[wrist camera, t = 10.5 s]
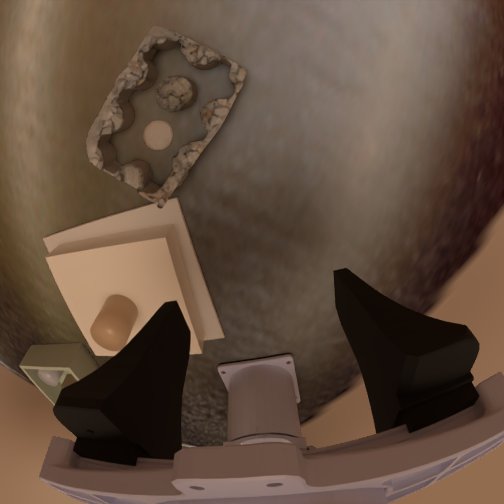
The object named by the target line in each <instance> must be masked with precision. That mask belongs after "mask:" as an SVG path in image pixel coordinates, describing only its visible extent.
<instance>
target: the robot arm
mask: <svg viewBox="0 0 504 504" xmlns="http://www.w3.org/2000/svg"><path fill="white" fill-rule="evenodd" d="M333 272H334V286H335V303H336V309H337V312H338V316H339V319H340V322H341V325H342V327H343V330H344V332H345V334H346V336H347V339H348V341H349V343H350V345H351V348H352V350H353V352H354V354H355V357H356V359H357V361H358V364H359V367H360V369H361V373H362V376H363V380H364V383H365V387H366V390H367V394H368V398H369V402H370V406H371V410H372V415H373V419H374V423H375V429H376V434H374V435H371V436H367V437H364V438H360V439H356V440H353V441H349V442H345V443H340V444H336V445H332V446H327V447H322V448H317V449H316V448H315V447H314V446H308V447H307V446H306V439H305V437H301V429H300V422H299V416H298V409H297V403H299V402H300V395H299V389H298V384H297V378H296V372H295V367H294V361H293V356H292V355H290V354H286V355H281V356H275V357H269V358H263V359H257V360H251V361H244V362H237V363H229V364H222V365H219V366H218V372H219V374H220V376H221V378H222V380H223V382H224V384H225V386H226V388H227V390H228V425H227V442H224V443H223V446H210V447H190V448H183V449H182V442H181V407H182V393H183V387H184V381H185V376H186V370H187V365H188V360H189V354H190V344H191V331H190V329H189V327H188V325H187V322H186V320H185V318H184V316H183V314H182V311H181V309H180V307H179V304H178V302H177V300H175V301H169V302H165V303H164V304H163V305H162V306H161V307H160V308H159V309H158V310H157V311H156V312H155V314H154V315H153V316H152V317H151V318H150V320H149V321H148V322H147V323H146V324H145V325H144V326H143V328H142V329H141V330H140V331H139V332H138V333H137V334H136V335H135V336H134V337H133V338H132V340H131V341H130V342H129V343H128V344H127V345H126V346H125V347H124V348H123V349H122V350H120V351H119V352H118V353H117V354H116V355H115V356H114V357H112V358H111V359H110V360H109V361H107V362H106V363H105V364H103V365H102V366H101V367H99V368H98V369H97V370H95V371H94V372H92V373H90V374H89V375H87V376H86V377H84V378H82V379H80V380H79V381H77V382H75V383H73V384H71V385H69V386H67V387H64V388H62V390H61V392H60V394H59V396H58V399H57V401H56V403H55V406H54V408H53V412H54V415H55V416H56V418H57V419H58V420H59V421H60V422H61V423H62V424H63V425H64V426H65V427H66V428H67V429H68V430H69V431H71V432H72V433H73V434H74V435H75V436H76V437H77V439H76V442H73V441H71V440H69V439H64V438H60V437H56V436H53V437H52V440H51V443H50V446H49V448H48V451H47V454H46V457H45V460H44V463H43V466H42V469H41V472H40V475H39V478H40V479H41V480H42V481H44V482H46V483H47V484H49V485H50V486H52V487H54V488H55V489H57V490H59V491H61V492H63V493H64V494H66V495H68V496H70V497H71V498H73V499H76V500H79V501H82V502H85V503H88V504H388V503H390V502H392V501H395V500H397V499H400V498H402V497H405V496H407V495H410V494H412V493H414V492H417V491H419V490H421V489H423V488H425V487H428V486H429V485H432V484H434V483H436V482H438V481H440V480H442V479H444V478H445V477H448V476H449V475H451V474H453V473H455V472H457V471H459V470H460V469H462V468H464V467H465V466H467V465H469V464H471V463H472V462H474V461H476V460H477V459H479V458H481V457H482V456H484V455H486V454H487V453H489V452H491V451H492V450H494V449H495V448H497V447H498V446H500V445H501V444H502V443H503V442H504V376H503V374H502V373H501V372H498V373H497V374H495V375H493V376H491V377H490V378H488V379H486V380H484V381H482V382H481V383H479V384H478V385H477V386H476V387H474V385H473V384H472V381H473V380H474V377H473V375H472V374H471V372H470V371H471V368H472V366H473V364H474V362H475V360H476V358H477V355H478V352H479V342H478V341H477V339H476V338H475V336H474V335H473V334H472V332H471V331H470V330H469V329H468V327H467V326H466V325H462V324H456V323H451V322H446V321H442V320H439V319H435V318H432V317H429V316H426V315H423V314H421V313H418V312H415V311H413V310H411V309H408V308H406V307H404V306H402V305H400V304H398V303H396V302H394V301H393V300H391V299H389V298H388V297H386V296H384V295H383V294H381V293H380V292H378V291H377V290H375V289H374V288H372V287H371V286H370V285H368V284H367V283H365V282H364V281H363V280H362V279H360V278H359V277H358V276H356V275H355V274H354V273H352V272H351V271H350V270H349V269H347V268H344V269H339V270H335V271H333ZM288 361H289V362H288Z"/></svg>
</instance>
